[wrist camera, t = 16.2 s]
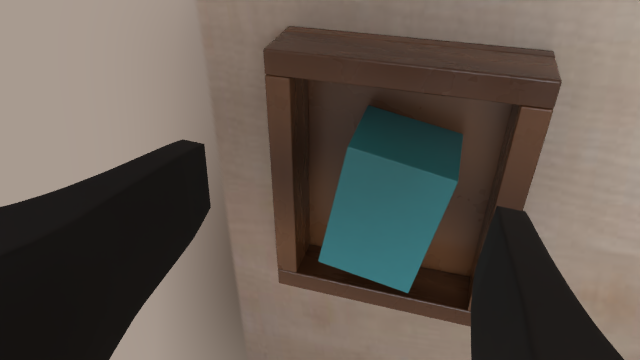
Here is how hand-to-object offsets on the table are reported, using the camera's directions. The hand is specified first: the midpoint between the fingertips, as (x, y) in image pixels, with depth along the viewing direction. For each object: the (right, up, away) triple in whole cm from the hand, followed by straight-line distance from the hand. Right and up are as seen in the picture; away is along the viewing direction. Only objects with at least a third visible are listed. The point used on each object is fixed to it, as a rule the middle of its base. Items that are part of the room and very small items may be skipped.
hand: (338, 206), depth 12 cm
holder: (+3, +1, +10) cm, 10 cm away
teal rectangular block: (+3, +1, +9) cm, 10 cm away
